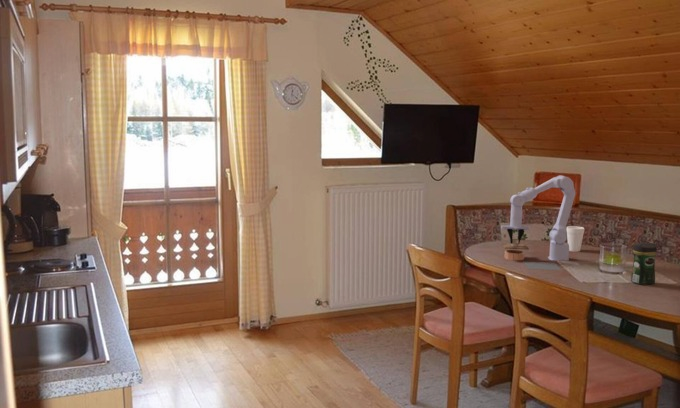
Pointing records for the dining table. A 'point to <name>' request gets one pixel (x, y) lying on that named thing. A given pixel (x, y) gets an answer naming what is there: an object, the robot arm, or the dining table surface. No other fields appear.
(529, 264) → the mat
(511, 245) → the square tan board
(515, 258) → the bowl
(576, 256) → the dining table surface
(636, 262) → the coffee jar
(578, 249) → the foam cup
